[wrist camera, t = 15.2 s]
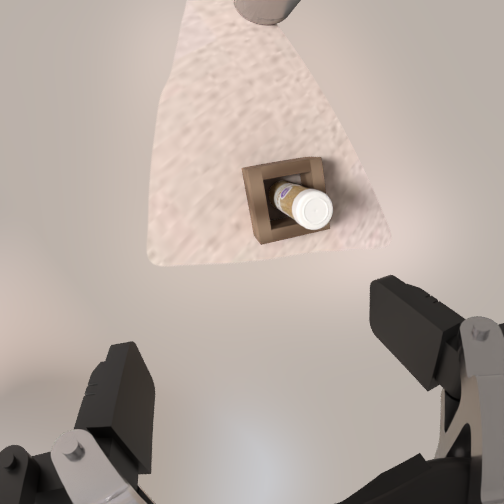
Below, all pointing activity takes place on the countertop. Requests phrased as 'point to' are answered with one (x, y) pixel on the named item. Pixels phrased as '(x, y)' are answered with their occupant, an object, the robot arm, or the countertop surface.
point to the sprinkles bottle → (302, 204)
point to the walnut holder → (258, 205)
